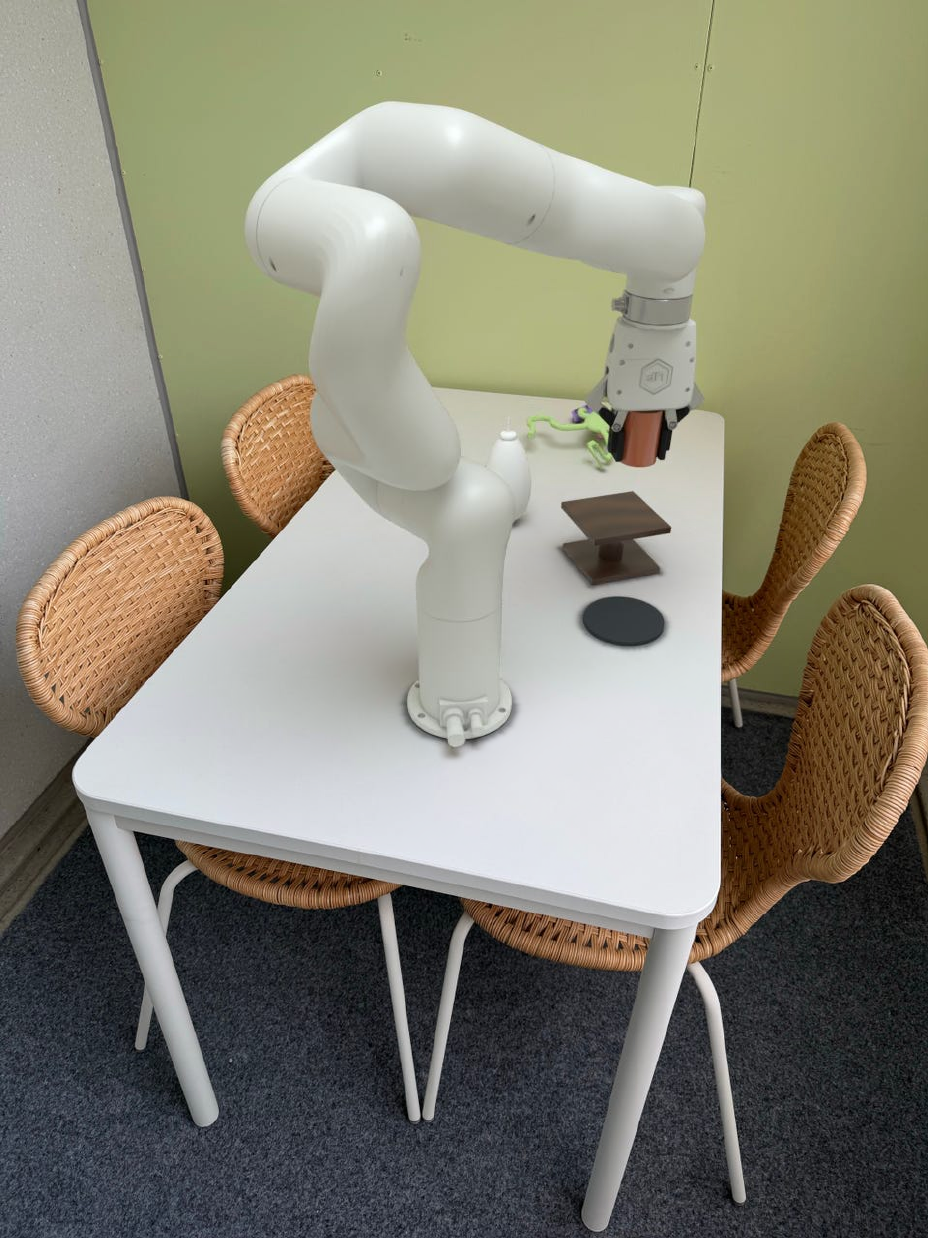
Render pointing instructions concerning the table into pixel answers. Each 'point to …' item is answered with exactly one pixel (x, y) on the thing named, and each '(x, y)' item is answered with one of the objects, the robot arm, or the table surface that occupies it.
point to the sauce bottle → (512, 467)
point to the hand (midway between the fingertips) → (637, 455)
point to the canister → (641, 437)
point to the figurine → (578, 428)
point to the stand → (613, 536)
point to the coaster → (623, 621)
